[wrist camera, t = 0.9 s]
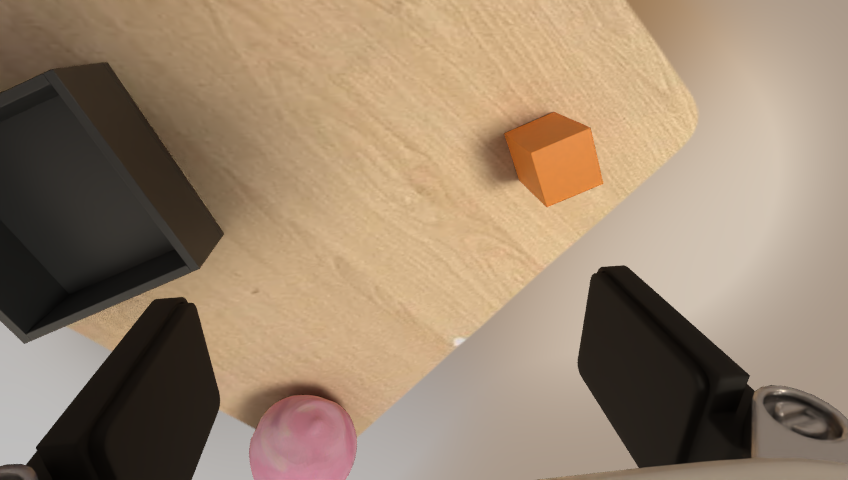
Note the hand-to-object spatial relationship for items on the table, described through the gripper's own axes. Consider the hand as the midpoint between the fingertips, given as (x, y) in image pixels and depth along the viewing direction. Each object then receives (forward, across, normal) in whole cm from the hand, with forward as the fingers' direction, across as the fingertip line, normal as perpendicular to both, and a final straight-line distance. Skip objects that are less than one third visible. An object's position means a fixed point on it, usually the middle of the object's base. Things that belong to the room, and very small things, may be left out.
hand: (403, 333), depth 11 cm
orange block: (+24, -12, +2) cm, 27 cm away
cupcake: (+22, +10, +31) cm, 40 cm away
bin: (+24, +21, +3) cm, 32 cm away
